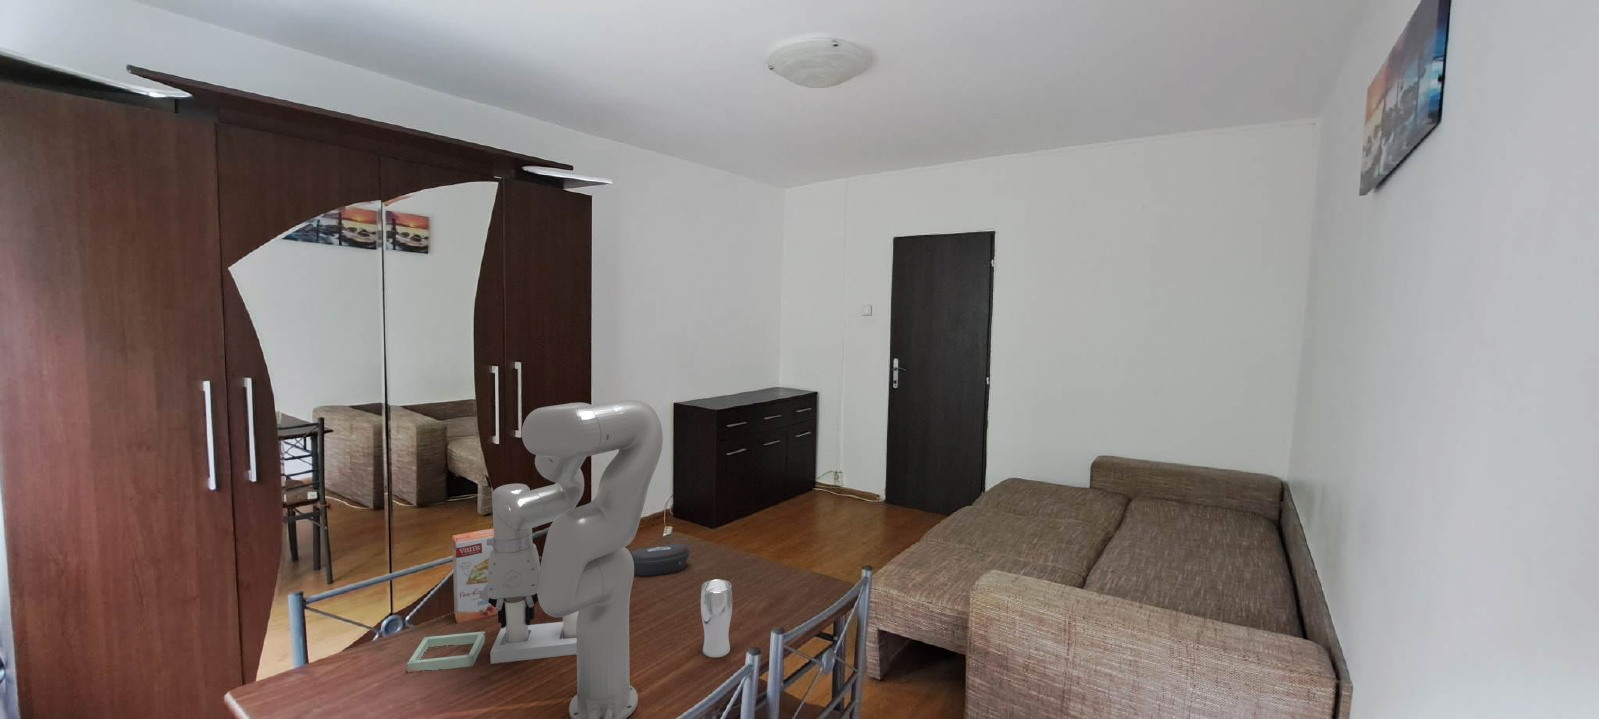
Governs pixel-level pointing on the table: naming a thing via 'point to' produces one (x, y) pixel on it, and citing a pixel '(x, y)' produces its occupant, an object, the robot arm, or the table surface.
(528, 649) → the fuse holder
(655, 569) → the glasses case
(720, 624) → the beer glass
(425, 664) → the green square frame
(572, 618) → the fuse
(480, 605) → the cracker box
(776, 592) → the table surface
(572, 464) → the robot arm
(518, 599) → the cylinder
